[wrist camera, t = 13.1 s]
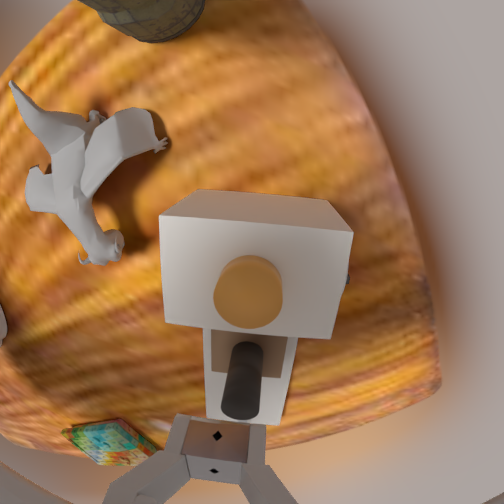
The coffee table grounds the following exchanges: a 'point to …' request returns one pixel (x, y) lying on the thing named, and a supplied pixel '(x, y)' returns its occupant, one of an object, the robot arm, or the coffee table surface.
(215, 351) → the carriage
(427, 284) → the coffee table surface
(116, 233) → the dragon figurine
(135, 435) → the puzzle game
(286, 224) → the rail base
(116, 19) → the thermos
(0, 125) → the coffee table surface
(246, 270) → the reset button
